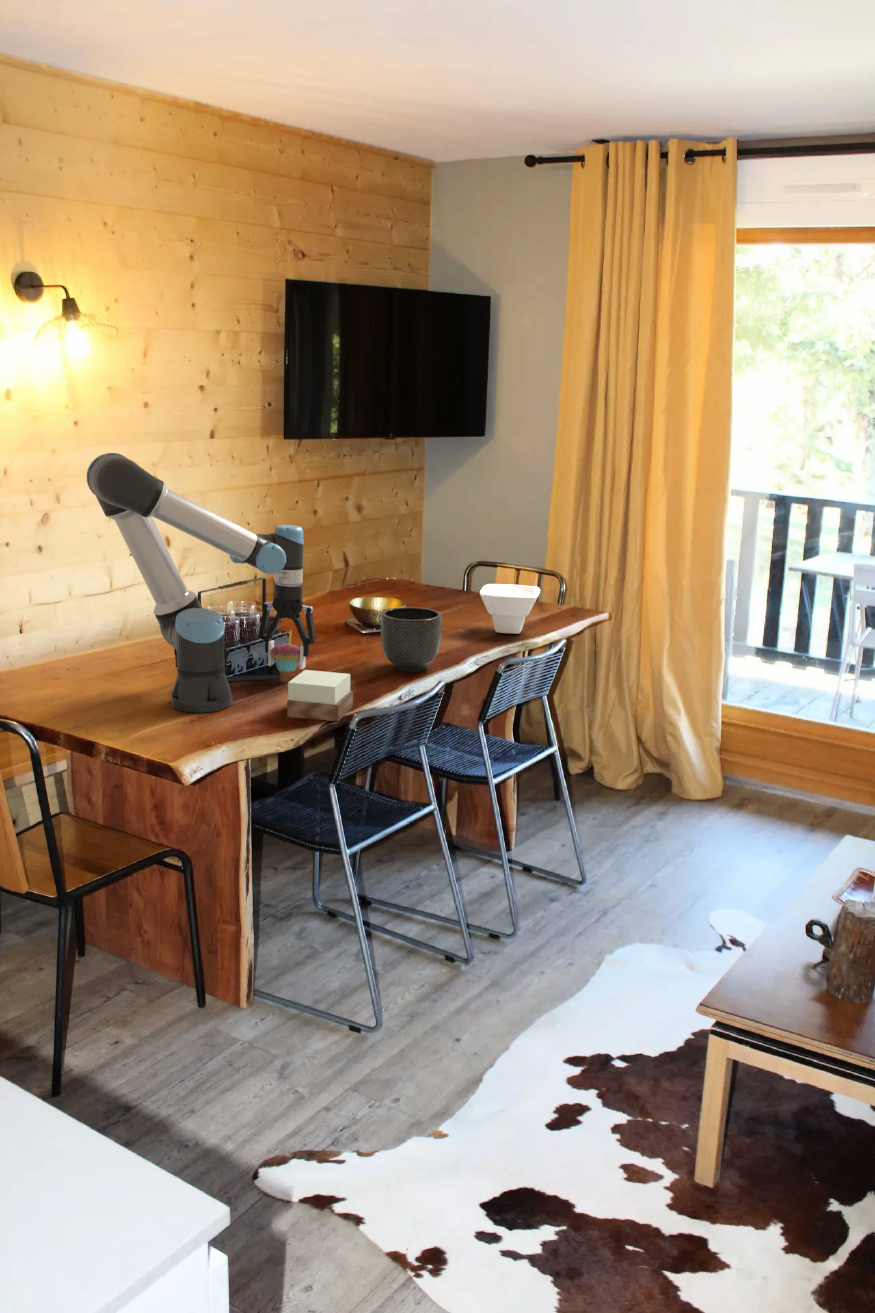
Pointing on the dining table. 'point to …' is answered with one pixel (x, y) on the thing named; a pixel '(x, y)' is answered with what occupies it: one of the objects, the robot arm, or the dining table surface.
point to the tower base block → (320, 709)
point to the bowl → (509, 605)
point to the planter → (411, 637)
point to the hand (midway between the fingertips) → (286, 666)
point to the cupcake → (286, 655)
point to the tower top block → (319, 687)
